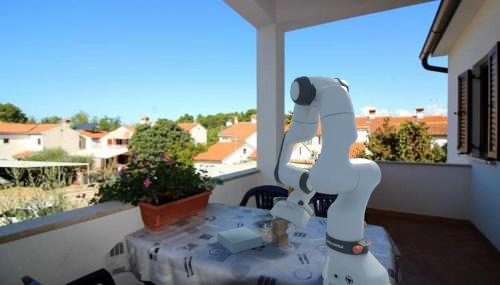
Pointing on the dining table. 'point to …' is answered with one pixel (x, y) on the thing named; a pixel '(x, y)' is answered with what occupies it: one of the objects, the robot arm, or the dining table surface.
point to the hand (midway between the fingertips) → (278, 229)
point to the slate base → (239, 239)
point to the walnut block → (279, 231)
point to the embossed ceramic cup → (279, 199)
